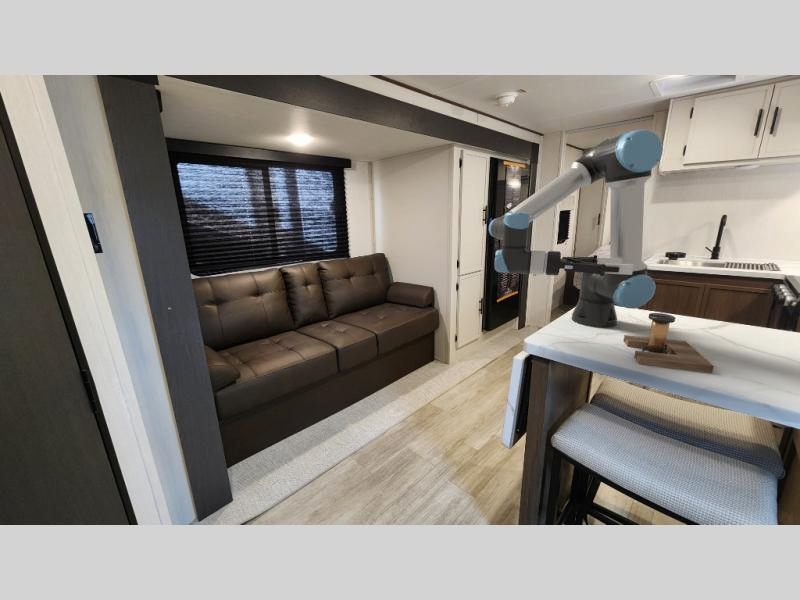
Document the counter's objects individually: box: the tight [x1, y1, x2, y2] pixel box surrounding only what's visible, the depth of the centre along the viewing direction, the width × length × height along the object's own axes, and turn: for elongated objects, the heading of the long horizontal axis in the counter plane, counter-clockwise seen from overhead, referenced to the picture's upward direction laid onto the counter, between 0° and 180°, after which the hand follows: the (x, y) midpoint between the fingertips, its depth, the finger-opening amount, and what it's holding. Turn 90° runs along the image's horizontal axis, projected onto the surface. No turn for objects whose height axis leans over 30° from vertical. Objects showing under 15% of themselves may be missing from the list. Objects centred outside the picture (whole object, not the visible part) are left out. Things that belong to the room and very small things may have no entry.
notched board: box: [623, 334, 715, 374], centre depth 95 cm, size 18×16×2 cm
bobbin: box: [641, 312, 676, 354], centre depth 94 cm, size 6×6×12 cm
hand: (626, 266), depth 93 cm, fingers open, 12 cm apart
